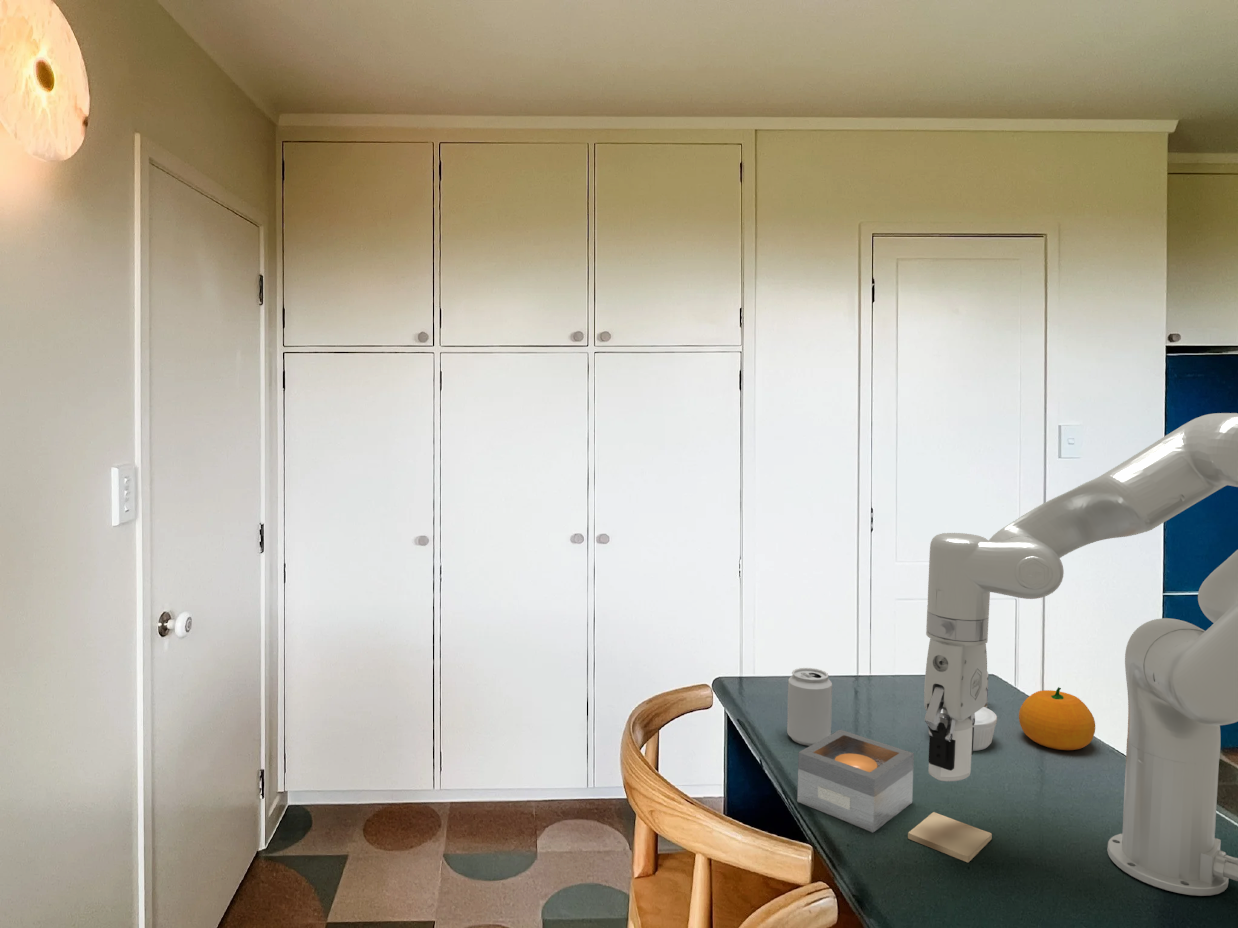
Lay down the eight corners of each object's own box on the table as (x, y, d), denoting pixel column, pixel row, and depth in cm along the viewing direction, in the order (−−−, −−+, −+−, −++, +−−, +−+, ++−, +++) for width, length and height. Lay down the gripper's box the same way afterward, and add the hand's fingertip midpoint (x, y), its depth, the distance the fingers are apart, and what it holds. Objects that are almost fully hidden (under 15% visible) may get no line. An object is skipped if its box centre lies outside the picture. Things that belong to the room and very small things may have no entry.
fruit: (1103, 743, 138) (1105, 687, 137) (1082, 763, 130) (1085, 704, 129) (1031, 724, 146) (1033, 671, 146) (1007, 742, 138) (1010, 686, 137)
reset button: (883, 798, 116) (884, 762, 116) (863, 813, 112) (864, 775, 111) (846, 784, 120) (847, 749, 120) (826, 798, 116) (827, 762, 116)
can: (839, 744, 137) (841, 676, 136) (803, 750, 134) (804, 681, 133) (813, 727, 144) (815, 663, 143) (778, 733, 141) (780, 668, 140)
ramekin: (931, 750, 135) (932, 720, 134) (923, 725, 145) (924, 697, 145) (1002, 757, 132) (1004, 726, 132) (988, 731, 143) (989, 703, 142)
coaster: (991, 839, 106) (991, 833, 106) (968, 862, 101) (968, 856, 100) (933, 817, 112) (933, 811, 112) (907, 838, 106) (908, 832, 106)
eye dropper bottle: (975, 785, 103) (980, 695, 102) (931, 781, 104) (935, 692, 103) (967, 770, 107) (971, 684, 107) (923, 766, 108) (927, 681, 108)
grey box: (912, 802, 116) (913, 753, 116) (872, 833, 107) (873, 780, 107) (838, 775, 125) (840, 729, 124) (796, 802, 116) (797, 752, 115)
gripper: (959, 646, 96) (952, 790, 97) (1009, 621, 108) (1003, 749, 109) (900, 633, 101) (894, 770, 102) (954, 610, 113) (949, 733, 114)
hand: (950, 758), depth 106 cm, fingers closed on eye dropper bottle, 5 cm apart
